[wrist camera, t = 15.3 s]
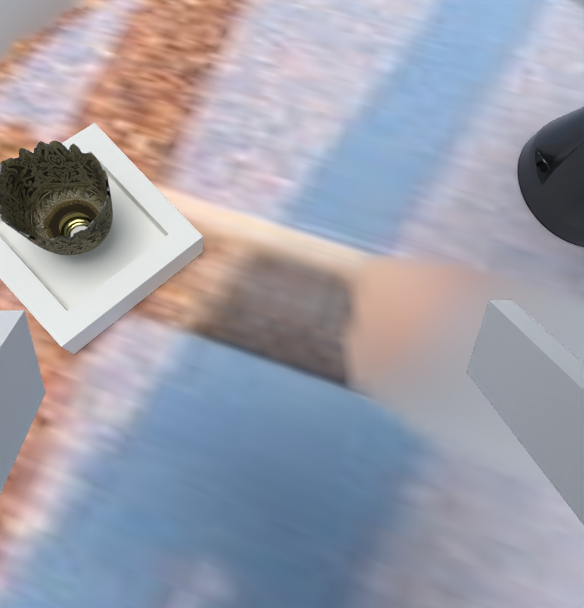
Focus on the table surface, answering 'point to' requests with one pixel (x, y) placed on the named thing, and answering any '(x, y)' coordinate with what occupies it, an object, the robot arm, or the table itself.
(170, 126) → the table surface
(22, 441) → the robot arm
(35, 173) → the filigree tulip shade
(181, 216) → the seat plinth
